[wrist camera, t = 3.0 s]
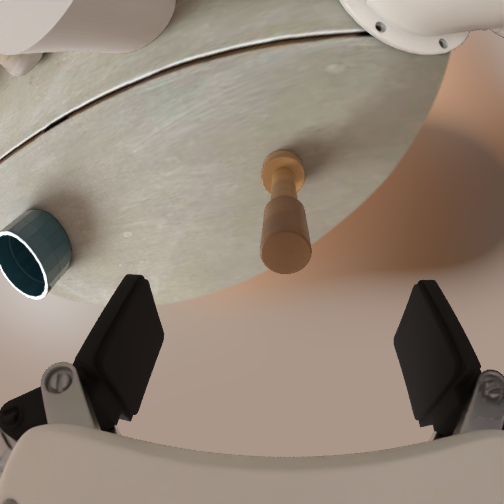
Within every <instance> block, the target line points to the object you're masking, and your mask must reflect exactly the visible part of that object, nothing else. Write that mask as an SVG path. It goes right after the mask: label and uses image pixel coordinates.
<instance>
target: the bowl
mask: <svg viewBox="0 0 504 504" xmlns="http://www.w3.org/2000/svg"><path fill="white" fill-rule="evenodd" d="M71 256H72V252H71V246H70V242H69V239H68V237H67V235H66V233H65V231H64V229H63V228H62V226H61V225H60V224H59V222H58V221H57V220H56V219H55V218H54V217H53V216H51V215H50V214H48V213H47V212H45V211H43V210H39V209H33V210H27V211H26V212H24V213H23V214H22V215H20V216H19V217H18V218H16V219H15V220H14V221H13V222H11V223H10V224H9V225H8V226H6V227H5V228H4V229H3V230H2V231H0V269H1V271H2V272H3V274H4V276H5V277H6V279H7V280H8V281H9V282H10V283H11V285H12V286H13V287H14V288H15V289H16V290H18V291H19V292H20V293H22V294H23V295H25V296H27V297H29V298H31V299H36V300H39V299H43V298H44V297H45V296H46V295H47V294H48V292H49V291H50V290H51V289H52V287H53V286H54V285H55V284H56V282H57V281H58V280H59V279H60V278H61V276H62V275H63V274H64V273H65V272H66V270H67V269H68V268H69V264H70V261H71Z"/></svg>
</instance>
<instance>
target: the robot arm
mask: <svg viewBox="0 0 504 504" xmlns="http://www.w3.org/2000/svg"><path fill="white" fill-rule="evenodd" d="M339 1H340V3H341V4H342V6H343V7H344V9H345V10H346V12H347V13H348V14H349V15H350V16H351V17H352V18H353V19H354V20H355V21H356V22H357V23H358V24H359V25H360V26H361V27H362V28H364V29H365V30H366V31H367V32H368V33H369V34H371V35H373V36H374V37H376V38H377V39H379V40H380V41H382V42H383V43H386V44H388V45H390V46H392V47H394V48H396V49H399V50H402V51H405V52H408V53H413V54H419V55H436V54H443V53H447V52H449V51H452V50H454V49H456V48H457V47H458V46H460V45H461V44H462V43H463V42H464V41H465V40H466V38H467V37H468V35H469V33H470V31H473V30H487V29H490V30H492V31H493V32H494V33H495V34H498V35H499V36H501V37H503V38H504V0H339ZM375 26H378V27H379V28H380V31H378V30H377V29H376V27H375ZM439 43H440V44H439ZM440 45H441V46H440ZM163 340H164V332H163V328H162V325H161V322H160V319H159V316H158V312H157V309H156V306H155V302H154V299H153V295H152V292H151V288H150V285H149V282H148V280H147V279H144V277H143V276H142V275H132V274H128V275H126V276H125V277H124V279H123V280H122V282H121V283H120V285H119V286H118V288H117V289H116V291H115V293H114V294H113V296H112V297H111V299H110V300H109V302H108V304H107V305H106V307H105V308H104V310H103V312H102V313H101V315H100V317H99V318H98V320H97V322H96V323H95V325H94V327H93V328H92V330H91V332H90V333H89V335H88V337H87V339H86V340H85V342H84V344H83V346H82V347H81V349H80V351H79V353H78V354H77V356H76V358H75V361H74V363H73V365H72V364H70V363H67V362H59V363H55V364H54V365H52V366H50V367H49V368H48V369H47V370H46V371H45V372H44V374H43V376H42V379H41V387H39V388H36V389H34V390H32V391H30V392H28V393H26V394H23V395H21V396H19V397H17V398H14V399H12V400H10V401H8V402H7V403H5V404H4V405H3V407H2V408H1V410H0V504H504V376H503V375H502V374H501V373H499V372H498V371H495V370H486V371H484V372H482V373H481V370H480V368H481V365H480V363H479V360H478V358H477V356H476V354H475V352H474V350H473V348H472V346H471V344H470V342H469V340H468V338H467V336H466V334H465V332H464V330H463V328H462V326H461V324H460V323H459V321H458V319H457V317H456V315H455V314H454V312H453V310H452V308H451V306H450V304H449V303H448V301H447V299H446V298H445V296H444V294H443V292H442V291H441V289H440V288H439V286H438V284H437V283H436V282H435V280H420V281H419V282H418V284H416V285H414V287H413V289H412V292H411V295H410V298H409V301H408V304H407V306H406V309H405V311H404V314H403V317H402V319H401V322H400V324H399V327H398V329H397V332H396V334H395V337H394V346H395V350H396V353H397V356H398V359H399V362H400V366H401V369H402V373H403V376H404V380H405V383H406V386H407V390H408V394H409V398H410V402H411V405H412V410H413V414H414V417H415V419H416V420H419V424H420V427H424V426H428V425H433V427H434V432H433V434H432V436H431V438H430V440H429V441H428V442H423V443H419V444H413V445H408V446H403V447H397V448H392V449H386V450H379V451H372V452H364V453H355V454H345V455H333V456H316V457H315V456H314V457H262V456H243V455H231V454H220V453H212V452H203V451H196V450H189V449H183V448H177V447H172V446H166V445H161V444H156V443H152V442H147V441H142V440H137V439H133V438H128V437H125V436H121V434H120V432H119V430H118V428H117V423H118V420H119V419H122V420H127V421H131V419H132V417H133V415H136V414H137V413H138V411H139V408H140V405H141V401H142V399H143V396H144V393H145V390H146V387H147V384H148V382H149V378H150V376H151V373H152V370H153V368H154V365H155V362H156V359H157V357H158V354H159V351H160V348H161V346H162V343H163Z"/></svg>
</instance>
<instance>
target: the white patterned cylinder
mask: <svg viewBox="0 0 504 504" xmlns="http://www.w3.org/2000/svg"><path fill="white" fill-rule="evenodd" d="M175 4H176V0H0V54H3V55H17V54H28V53H42V52H103V53H129V52H133V51H136V50H138V49H141V48H143V47H144V46H146V45H148V44H149V43H151V42H152V41H153V40H155V39H156V38H157V37H158V36H159V35H160V34H161V33H162V32H163V30H164V29H165V28H166V26H167V25H168V23H169V22H170V20H171V18H172V16H173V13H174V10H175Z"/></svg>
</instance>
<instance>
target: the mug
mask: <svg viewBox="0 0 504 504" xmlns="http://www.w3.org/2000/svg"><path fill="white" fill-rule="evenodd" d="M42 54H43V52H42V53H28V54H17V55H3V54H0V64H1V65H2V66H4V67H5V68H6V69H7V71H8V72H9V73H10V74H11V75H12V76H22V75H25V74H27V73H28V72H29V71H31V70H32V69H33V68H34V67H35V66H36V65H37V64H38V62H39V61H40V59H41V57H42Z"/></svg>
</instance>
